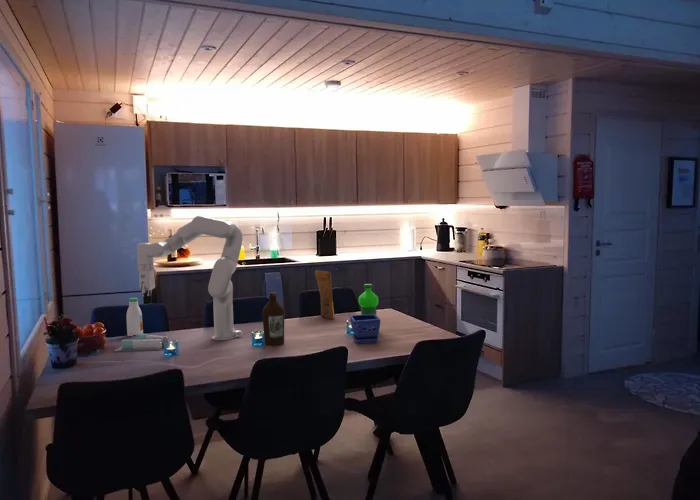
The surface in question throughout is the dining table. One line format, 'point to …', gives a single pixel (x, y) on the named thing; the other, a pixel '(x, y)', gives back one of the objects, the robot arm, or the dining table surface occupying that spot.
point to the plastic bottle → (368, 301)
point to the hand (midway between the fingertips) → (147, 303)
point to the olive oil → (273, 322)
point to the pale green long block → (143, 344)
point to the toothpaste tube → (150, 337)
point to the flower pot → (365, 328)
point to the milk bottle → (134, 318)
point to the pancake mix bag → (325, 293)
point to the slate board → (141, 349)
